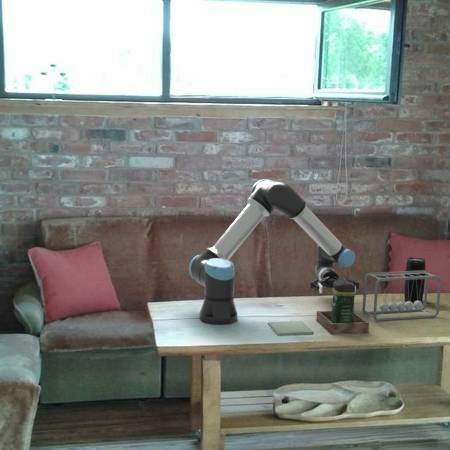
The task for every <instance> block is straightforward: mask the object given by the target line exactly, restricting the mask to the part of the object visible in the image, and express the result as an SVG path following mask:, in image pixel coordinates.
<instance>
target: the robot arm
mask: <svg viewBox="0 0 450 450" xmlns="http://www.w3.org/2000/svg"><path fill="white" fill-rule="evenodd" d="M250 192H251V193H250V196H249V197H248V198H247V205H246V206H245V207H244V208H243V209H242V211H241V212H240V213H239V215H237V217H236V218H235V219H234V221H233V222H232V223H231V224H230V225H229V227H227V229H226V230H225V231H224V233H223V234H222V235H221V236H220V237H219V239H218V240H217V241H216V242H215V244H214V245H213V246H212V247H207V248H206V249H205V250H204V251H203V252H202V253H201V254H197V255H195V256H194V257H193V258H192V259H191V260H190V262H189V267H188V272H189V275H190V277H191V278H192V279H193V280H194V281H195V282H196V284H199V285H201V286H202V287H204V298H203V299H204V300H203V303H202V305H201V309H200V311H199V320H200V321H202V322H203V323H207V324H210V325H211V324H213V325H227V324H228V325H229V324H232V323H235V322H236V321H238V311H237V307H236V303H235V301H234V300H235V299H234V297H235V295H234V294H235V275H236V272H235V265H234V263H233V262H232V261H231V260H230V259H231V258H232V257H233V255H234V253H236V251H238V249H239V248H240V246H242V244H243V243H244V242H245V240H246V239H247V238H248V237H249V236H250V235H251V233H252V232H253V231H254V230H255V228H256V227H257V226H258V224H259V223H260V222H261V221H262V219H264V218H265V217H270V216H271V214H272V213H273V212H274V210H276V211H279V212H280V213H282V214H284V215H285V216H286V217H287V218H288V219H290V220H293V221H295V223H296V224H297V225H298V226H299V227H300V228H301V229H302V230H303V231H304V232H305V233H306V234H307V235H308V236H309V237H310V238H311V239H312V240H313V242H314V243H316V244H317V250H316V251H317V255H316V259H317V260H316V266H315V268H314V269H315V271H314V272H315V276H316V277H315V278H314V279H313V280H312V281H310V286H309V287H310V288H309V289H314V291H319V294H323V288H326V289H327V288H328V289H333V283H334V281H336V280H337V279H342V278H340V277H339V275H338V273H337V272H336V271H335V269H334V267H335V266H334V265H335V264H336V265H339V266H341V267H345V268H348V267H351V266H352V265H354V263H355V261H356V254H355V252H354V251H353V250H351V249H349V248H347V247H346V246H345V245H344V244H343V243H342V242H341V241H340V240H339V239H338V238H337V237H336V236H335V235H334V233H332V231H330V229H328V228H327V226H326V225H324V223H323V222H322V221H321V220H320V219H319V218H318V217H317V215H315V213H313V212H312V211H311V209H310V208H308V206H307V202H306V201H305V199H303V198H302V196H301V195H300V194H299V192H297V191H296V189H294V188H293V187H292V186H290V185H289V184H288V183H286V182H282V181H277V180H274V179H272V178H262V179H259V180H257V181H256V182H255V183H254V184H253V185H252V187H251V191H250ZM343 279H346V280H347V281H349V282H351V283H352V284H354V285H355V295H356V293H357V290H359V289H360V288H359V287H360V283H359V282H357V281H354V280H352V279H349V278H347V277H344V278H343Z"/></svg>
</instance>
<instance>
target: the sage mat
mask: <svg viewBox="0 0 450 450" xmlns="http://www.w3.org/2000/svg"><path fill="white" fill-rule="evenodd" d="M267 325H268V326H269V327H270V328H271V329H272V331H273V332H274V333H275V334H276V335H277V336H292V335H293V336H294V335H295V336H296V335H297V336H298V335H314V331H313V330H312V329H311V328H310V326H308V325H307V324H306V323H305V322H304V321H303V320H287V321H285V320H284V321H282V320H281V321H268V322H267Z"/></svg>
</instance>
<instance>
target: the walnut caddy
mask: <svg viewBox="0 0 450 450" xmlns="http://www.w3.org/2000/svg"><path fill="white" fill-rule="evenodd" d="M331 313H332V310H317V311H316V319H315V321H316V322H317V323H318V324H319V325H320V326H322V328H323V329H325V330H326V331H327V332H328V333H329V335H349V334H350V335H352V334H368V333H369V330H370V322H369V321H367V320H366V319H365V318H364V317H362V316H361V315H359V313H357V312H356V311H354V312H353V323H332V322H331Z"/></svg>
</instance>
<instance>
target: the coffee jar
mask: <svg viewBox="0 0 450 450" xmlns="http://www.w3.org/2000/svg"><path fill="white" fill-rule="evenodd" d="M355 295H356V294H355V285H354V284H352V283H351V282H349V281H347V280H346V279H344V278H341V279H337V280H336V281H334V283H333V288H332V300H331V301H332V303H331V311H332V313H331V322H332V323H353V312H355V311H354V310H355V309H354V307H355Z"/></svg>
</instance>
